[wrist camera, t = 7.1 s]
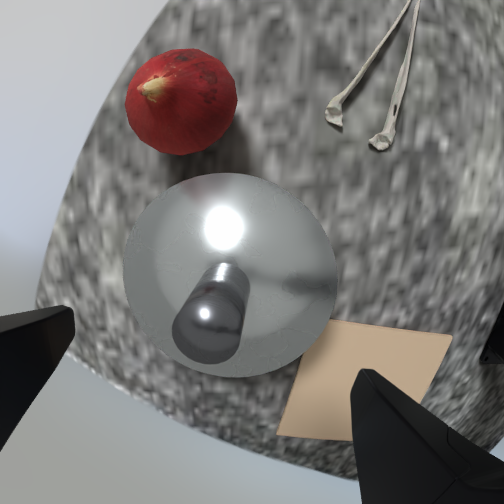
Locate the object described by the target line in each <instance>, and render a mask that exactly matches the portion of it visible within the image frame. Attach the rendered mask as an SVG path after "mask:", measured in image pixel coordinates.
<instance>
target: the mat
mask: <svg viewBox="0 0 504 504" xmlns="http://www.w3.org/2000/svg"><path fill="white" fill-rule="evenodd" d="M452 338H453V337H452V336H451V335H446V334H437V333H428V332H420V331H412V330H404V329H396V328H388V327H381V326H374V325H367V324H360V323H353V322H347V321H340V320H334V319H329V321H328V323H327V325H326V326H325V328H324V330H323V332H322V333H321V334H320V336H319V337H318V339H317V340H316V341H315V342H314V343H313V344H312V346H311V347H310V348H309V349H308V350H307V351H306V352H304V353H303V354H302V358H301V361H300V364H299V367H298V370H297V373H296V377H295V380H294V383H293V386H292V389H291V392H290V395H289V398H288V401H287V403H286V406H285V409H284V412H283V415H282V418H281V421H280V423H279V426H278V429H277V432H276V435H282V436H291V437H301V438H312V439H325V440H344V441H353V439H352V425H351V405H350V392H351V388H352V386H353V384H354V381H355V379H356V377H357V374H358V372H359V370H360V369H362V368H367V369H374V370H375V371H377V372H378V373H379V374H381V375H382V376H383V377H385V378H386V379H387V380H388V381H390V382H391V383H392V384H394V385H395V386H396V387H398V388H399V389H400V390H402V391H403V392H404V393H406V394H407V395H408V396H410V397H411V398H412V399H413V400H415V401H416V402H417V403H420V402H421V400H422V398H423V396H424V395H425V393H426V391H427V389H428V387H429V385H430V384H431V382H432V380H433V378H434V376H435V374H436V372H437V370H438V368H439V366H440V364H441V362H442V360H443V358H444V356H445V353H446V351H447V349H448V347H449V345H450V343H451V340H452Z"/></svg>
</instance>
